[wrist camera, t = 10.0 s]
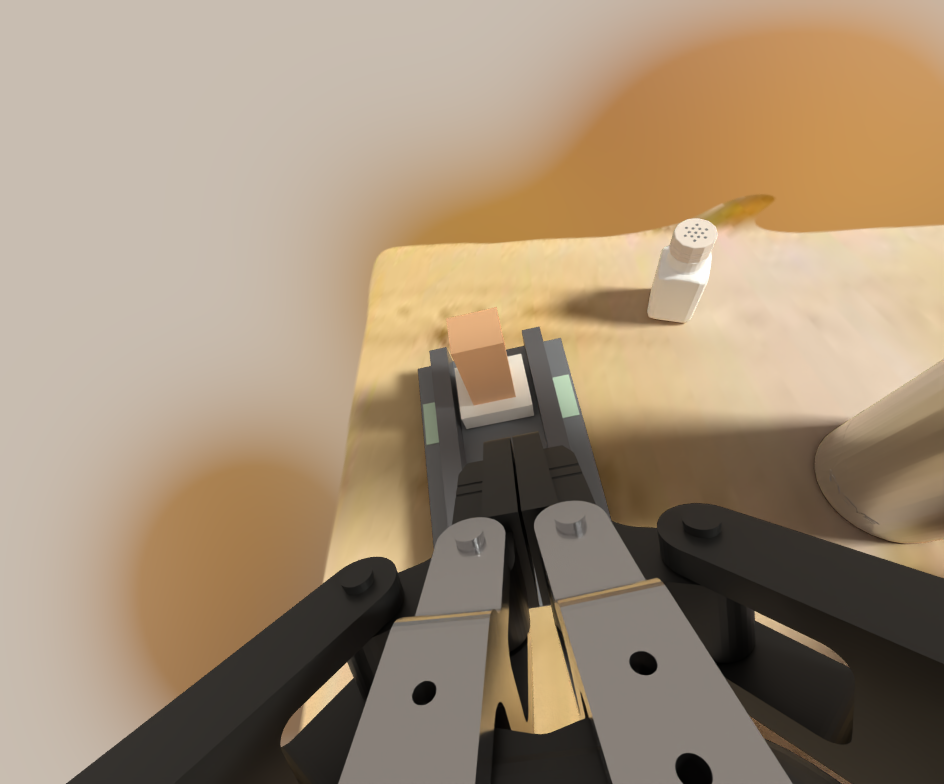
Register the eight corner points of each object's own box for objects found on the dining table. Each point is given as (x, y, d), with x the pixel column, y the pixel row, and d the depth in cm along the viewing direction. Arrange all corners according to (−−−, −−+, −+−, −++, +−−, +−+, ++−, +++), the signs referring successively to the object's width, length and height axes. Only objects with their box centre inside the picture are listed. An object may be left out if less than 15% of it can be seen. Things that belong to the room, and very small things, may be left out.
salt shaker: (651, 287, 44) (672, 212, 35) (694, 292, 43) (726, 216, 34) (644, 320, 42) (665, 249, 34) (689, 326, 41) (721, 254, 33)
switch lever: (534, 415, 38) (524, 351, 28) (466, 429, 38) (435, 370, 29) (523, 366, 40) (511, 292, 30) (459, 379, 40) (428, 310, 31)
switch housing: (627, 593, 32) (637, 591, 28) (446, 621, 34) (430, 623, 30) (560, 349, 43) (560, 321, 39) (423, 378, 44) (409, 355, 40)
